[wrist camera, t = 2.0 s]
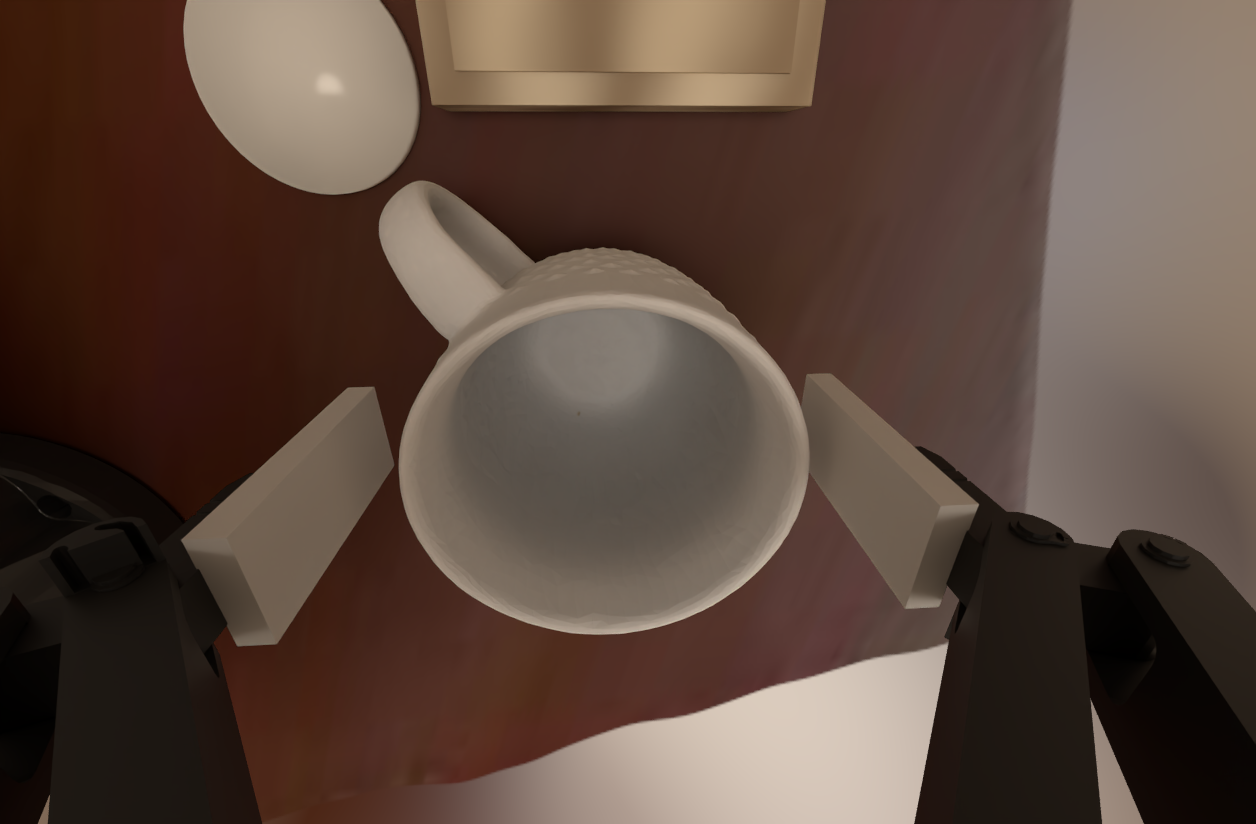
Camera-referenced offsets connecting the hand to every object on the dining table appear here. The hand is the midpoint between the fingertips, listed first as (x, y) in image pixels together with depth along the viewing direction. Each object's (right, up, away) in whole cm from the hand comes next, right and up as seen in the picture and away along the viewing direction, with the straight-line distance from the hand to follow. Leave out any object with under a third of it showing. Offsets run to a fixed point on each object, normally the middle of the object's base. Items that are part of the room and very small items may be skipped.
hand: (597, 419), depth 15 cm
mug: (-1, +5, +9) cm, 10 cm away
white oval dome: (-11, +13, +4) cm, 18 cm away
